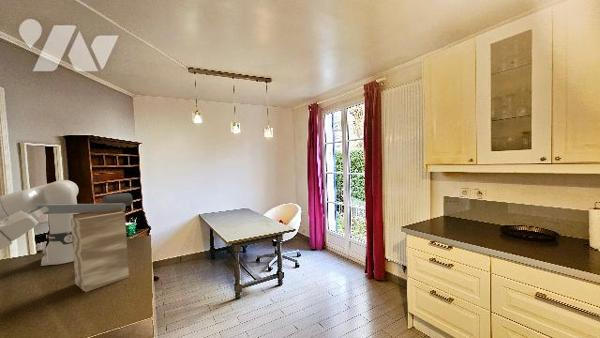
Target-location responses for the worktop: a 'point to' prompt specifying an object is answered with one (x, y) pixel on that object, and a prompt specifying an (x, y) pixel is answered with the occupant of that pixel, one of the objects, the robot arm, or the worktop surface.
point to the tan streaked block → (99, 248)
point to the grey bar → (80, 208)
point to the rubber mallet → (118, 199)
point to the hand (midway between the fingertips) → (45, 207)
